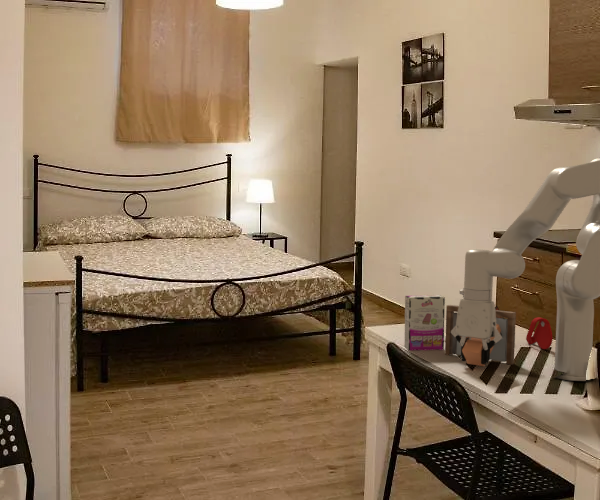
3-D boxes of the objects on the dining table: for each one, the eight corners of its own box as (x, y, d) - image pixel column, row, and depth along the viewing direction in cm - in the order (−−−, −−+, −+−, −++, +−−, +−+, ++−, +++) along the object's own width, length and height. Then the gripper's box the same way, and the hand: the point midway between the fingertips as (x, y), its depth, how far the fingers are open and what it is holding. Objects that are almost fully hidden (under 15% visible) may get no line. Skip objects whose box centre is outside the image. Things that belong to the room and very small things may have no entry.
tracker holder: (555, 352, 252) (556, 319, 251) (542, 353, 251) (543, 320, 250) (533, 345, 264) (534, 313, 263) (520, 345, 262) (522, 313, 262)
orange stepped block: (501, 330, 234) (496, 317, 231) (484, 366, 227) (478, 353, 224) (484, 328, 237) (479, 315, 234) (467, 363, 230) (461, 350, 227)
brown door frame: (513, 363, 234) (515, 312, 233) (510, 364, 233) (512, 313, 232) (448, 353, 247) (449, 304, 246) (444, 354, 246) (446, 305, 244)
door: (506, 361, 235) (508, 318, 235) (502, 362, 233) (504, 319, 232) (453, 353, 246) (455, 312, 245) (449, 354, 244) (450, 313, 243)
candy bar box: (438, 348, 256) (439, 294, 254) (444, 351, 251) (445, 296, 250) (403, 348, 254) (404, 294, 252) (408, 352, 249) (409, 297, 247)
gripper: (442, 293, 229) (440, 359, 230) (501, 300, 218) (498, 369, 220) (455, 291, 235) (453, 355, 236) (513, 297, 224) (510, 364, 225)
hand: (475, 361), depth 228 cm, fingers closed on orange stepped block, 5 cm apart
